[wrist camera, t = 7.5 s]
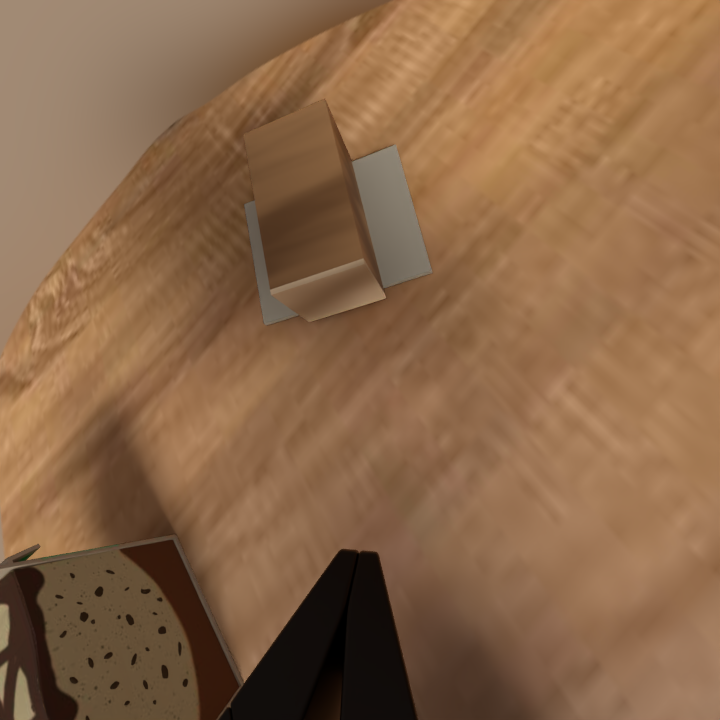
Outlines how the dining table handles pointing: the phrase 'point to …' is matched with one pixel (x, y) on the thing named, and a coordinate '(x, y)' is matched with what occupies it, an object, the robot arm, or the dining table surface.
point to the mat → (385, 222)
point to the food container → (110, 637)
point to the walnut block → (311, 215)
